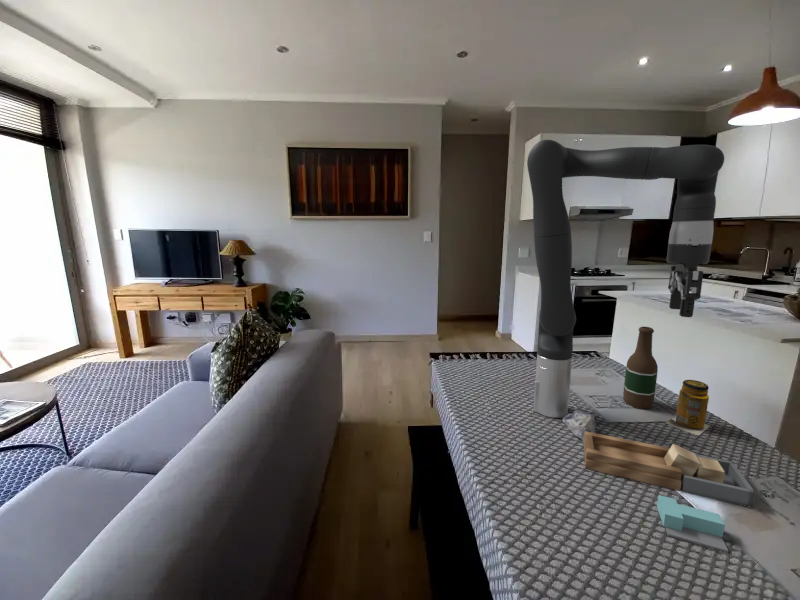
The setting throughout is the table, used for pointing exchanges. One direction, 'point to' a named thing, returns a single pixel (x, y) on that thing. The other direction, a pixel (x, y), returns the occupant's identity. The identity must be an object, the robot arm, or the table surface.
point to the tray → (722, 485)
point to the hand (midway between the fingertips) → (680, 312)
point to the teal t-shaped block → (688, 517)
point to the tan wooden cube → (682, 460)
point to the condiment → (692, 407)
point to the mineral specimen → (580, 423)
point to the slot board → (630, 460)
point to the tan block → (709, 470)
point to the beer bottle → (641, 373)
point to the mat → (698, 538)
